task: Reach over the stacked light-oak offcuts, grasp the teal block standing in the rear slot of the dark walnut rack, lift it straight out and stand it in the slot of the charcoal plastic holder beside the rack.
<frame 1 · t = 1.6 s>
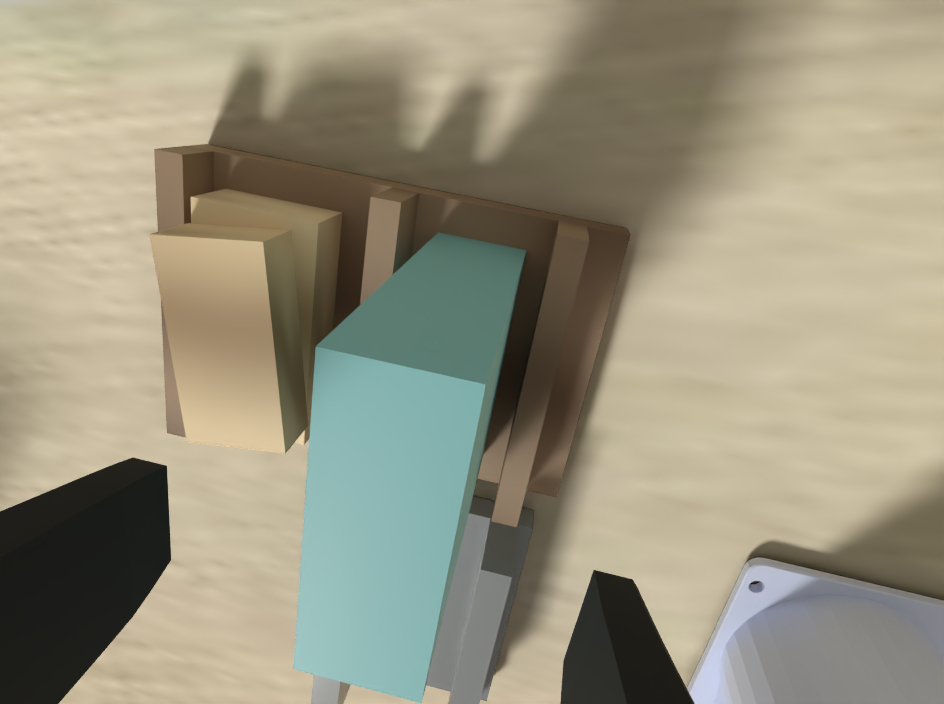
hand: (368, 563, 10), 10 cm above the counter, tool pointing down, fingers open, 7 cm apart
offcut top: (251, 330, 17), point 3 cm above the counter, touching offcut low
holder: (423, 580, 23), on the counter
rack: (393, 323, 19), on the counter
offcut low: (279, 310, 19), point 1 cm above the counter, touching offcut top, rack
teal block: (462, 351, 18), point 1 cm above the counter, touching rack
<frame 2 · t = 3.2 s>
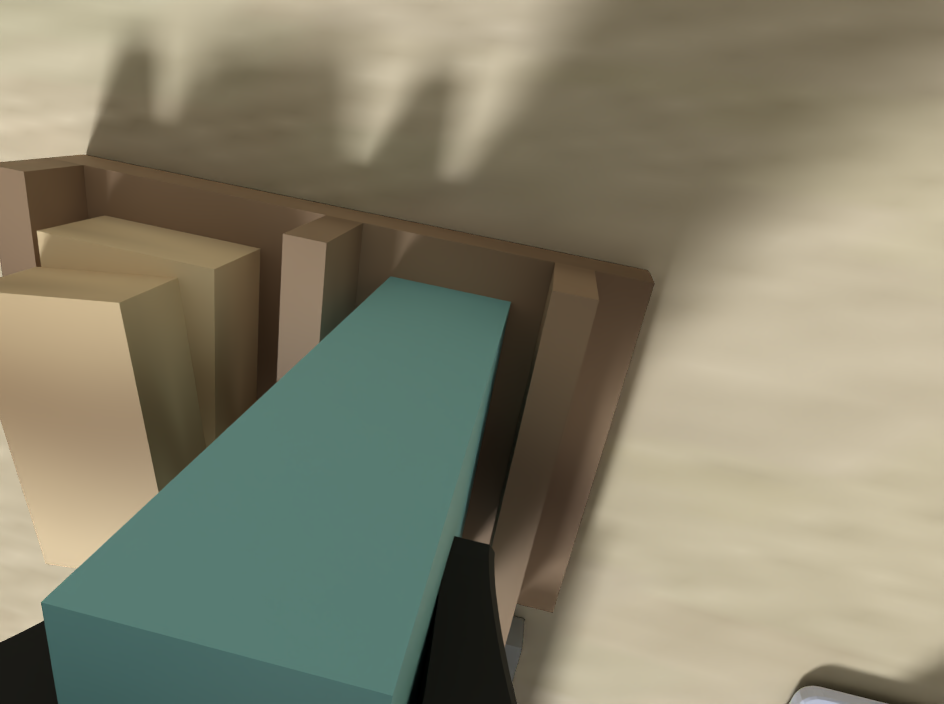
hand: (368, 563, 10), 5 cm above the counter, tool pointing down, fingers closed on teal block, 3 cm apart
offcut top: (135, 409, 13), point 3 cm above the counter, touching offcut low
holder: (388, 693, 19), on the counter
rack: (339, 388, 15), on the counter
offcut low: (185, 374, 14), point 1 cm above the counter, touching offcut top, rack
teal block: (427, 430, 14), point 1 cm above the counter, touching gripper, rack
when the fingers open (6 cm above the counter, at t = 6.6 s): teal block stays where it is, resting on holder.
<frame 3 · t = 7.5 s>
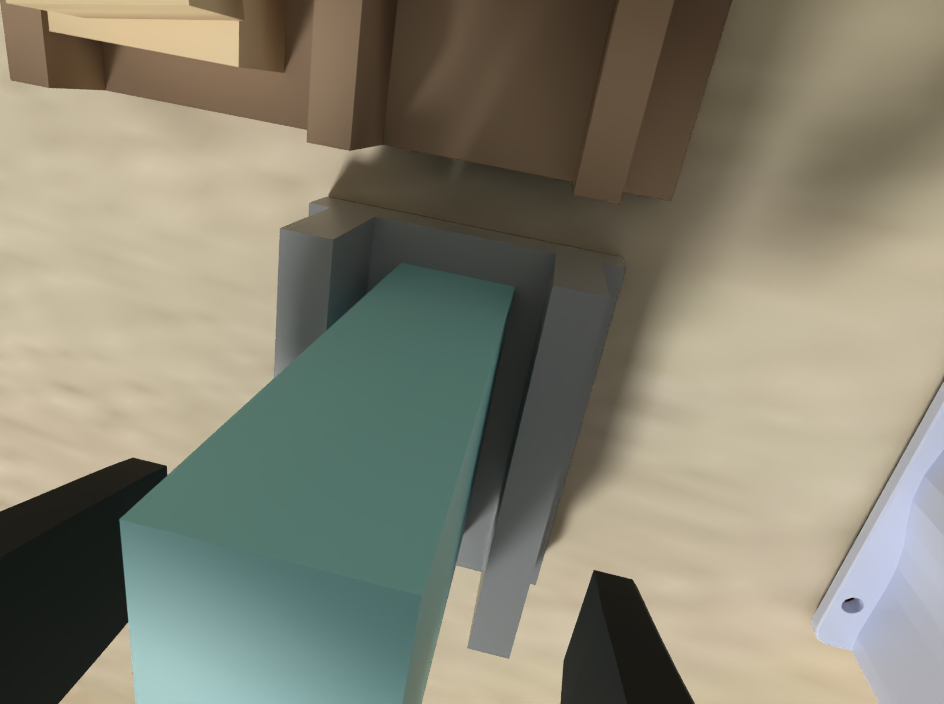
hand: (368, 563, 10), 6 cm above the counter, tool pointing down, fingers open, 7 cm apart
holder: (442, 396, 15), on the counter
teal block: (435, 410, 14), point 1 cm above the counter, touching holder
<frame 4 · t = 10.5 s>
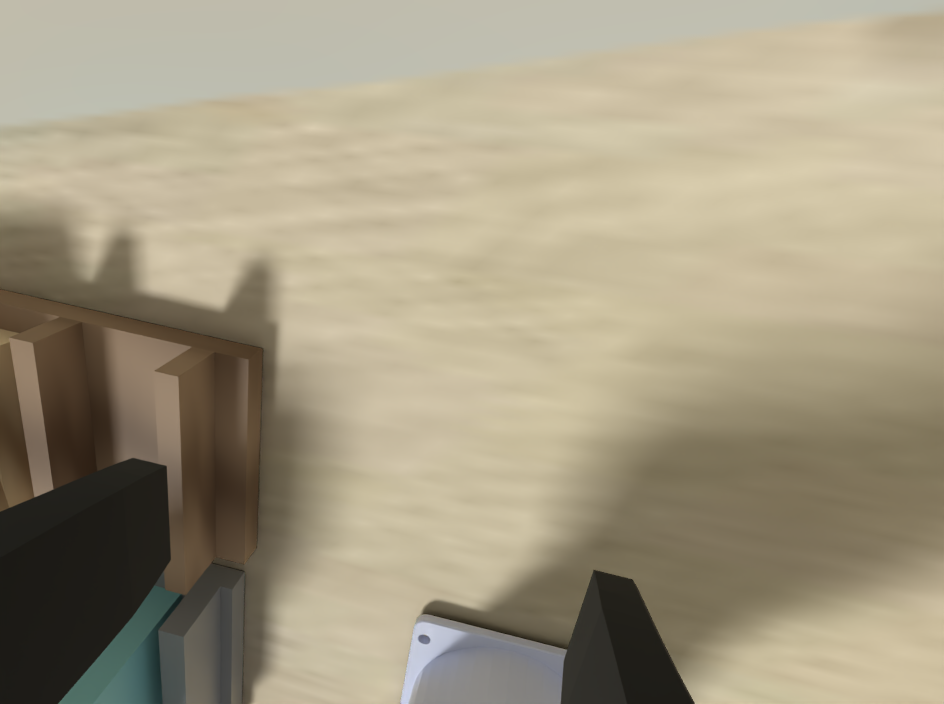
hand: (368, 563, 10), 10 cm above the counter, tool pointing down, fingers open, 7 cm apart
holder: (170, 627, 27), on the counter
rack: (100, 417, 23), on the counter
teal block: (156, 644, 26), point 1 cm above the counter, touching holder
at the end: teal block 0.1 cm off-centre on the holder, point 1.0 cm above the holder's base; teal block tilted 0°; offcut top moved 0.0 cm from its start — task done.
